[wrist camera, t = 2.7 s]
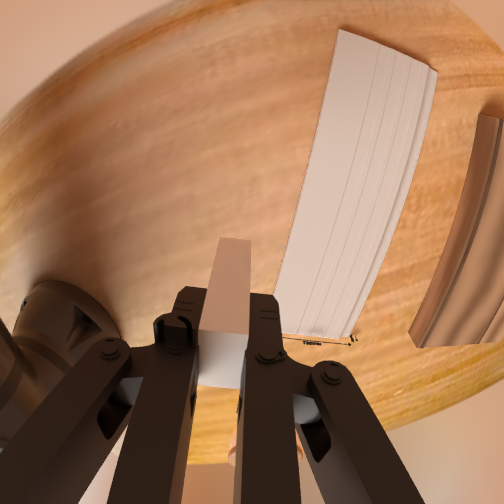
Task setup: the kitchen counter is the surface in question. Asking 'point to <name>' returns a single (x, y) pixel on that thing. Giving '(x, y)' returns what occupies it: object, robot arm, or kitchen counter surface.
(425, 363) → the kitchen counter surface
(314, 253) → the baseboard molding
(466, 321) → the grooved tan panel
